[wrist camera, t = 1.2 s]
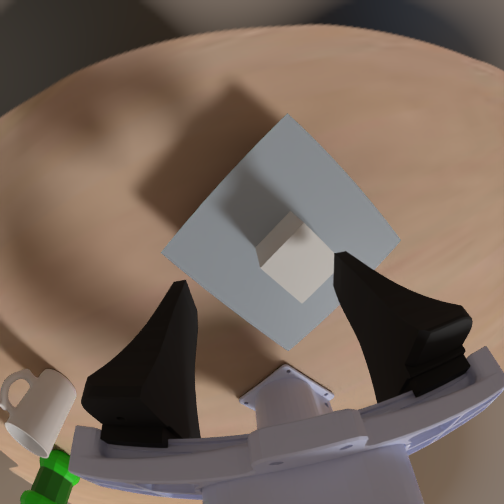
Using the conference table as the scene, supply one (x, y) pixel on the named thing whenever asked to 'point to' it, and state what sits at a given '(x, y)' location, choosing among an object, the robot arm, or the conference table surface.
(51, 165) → the conference table surface
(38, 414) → the mug
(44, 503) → the plastic bottle
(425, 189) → the conference table surface
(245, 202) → the bin lid
